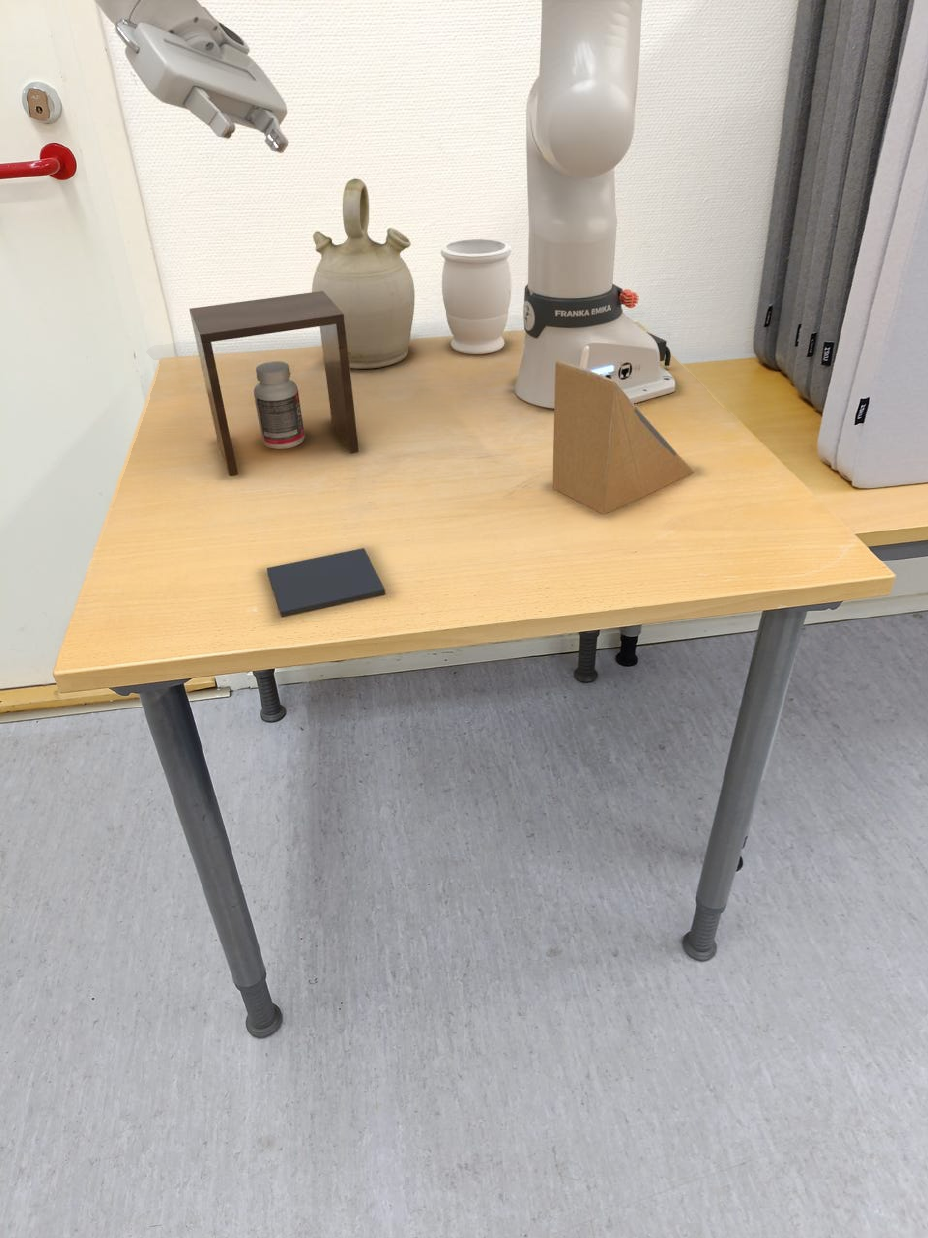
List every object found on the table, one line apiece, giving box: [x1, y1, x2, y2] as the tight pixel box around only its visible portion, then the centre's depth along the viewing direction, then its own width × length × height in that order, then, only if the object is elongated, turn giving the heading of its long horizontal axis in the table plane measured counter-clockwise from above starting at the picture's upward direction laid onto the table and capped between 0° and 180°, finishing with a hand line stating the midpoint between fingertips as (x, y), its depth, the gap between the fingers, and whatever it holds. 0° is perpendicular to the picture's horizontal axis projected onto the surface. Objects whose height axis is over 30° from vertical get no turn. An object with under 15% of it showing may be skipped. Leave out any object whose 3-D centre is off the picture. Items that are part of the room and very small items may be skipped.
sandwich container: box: [552, 360, 695, 515], centre depth 95 cm, size 9×15×15 cm, turn 129°
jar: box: [440, 238, 512, 355], centre depth 133 cm, size 11×10×15 cm
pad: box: [266, 547, 386, 618], centre depth 84 cm, size 10×8×1 cm
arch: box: [188, 291, 360, 477], centre depth 104 cm, size 10×16×17 cm, turn 111°
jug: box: [311, 177, 415, 370], centre depth 128 cm, size 15×16×25 cm
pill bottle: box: [253, 361, 306, 450], centre depth 108 cm, size 5×5×10 cm
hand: (256, 140), depth 94 cm, fingers open, 8 cm apart
